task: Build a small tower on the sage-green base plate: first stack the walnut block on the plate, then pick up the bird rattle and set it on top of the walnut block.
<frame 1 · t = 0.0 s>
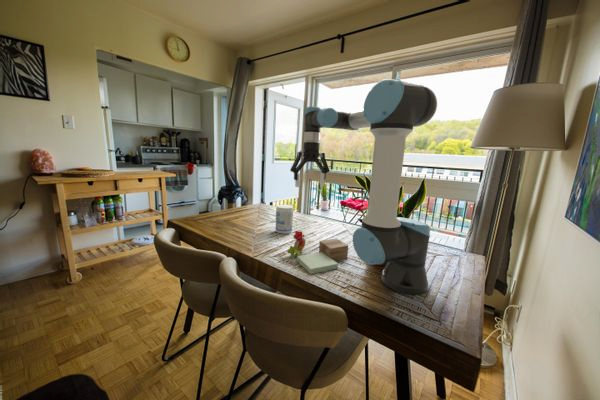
hand: (309, 186, 119), 28 cm above the table, tool pointing down, fingers open, 13 cm apart
supplement tub: (284, 231, 137), on the table
bird rattle: (297, 254, 107), on the table
walnut block: (332, 256, 107), on the table
base plate: (316, 264, 98), on the table
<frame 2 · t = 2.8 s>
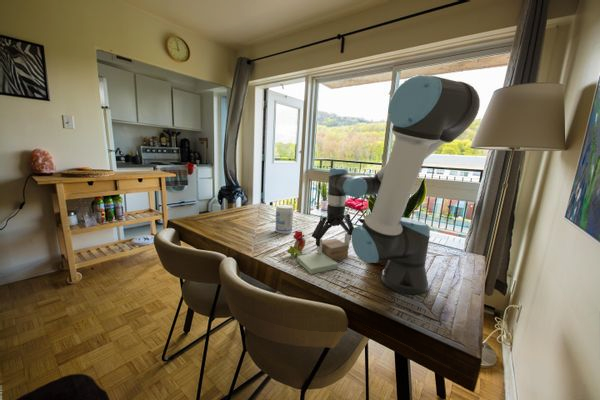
hand: (333, 251, 108), 2 cm above the table, tool pointing down, fingers open, 14 cm apart
nothing on the table moved.
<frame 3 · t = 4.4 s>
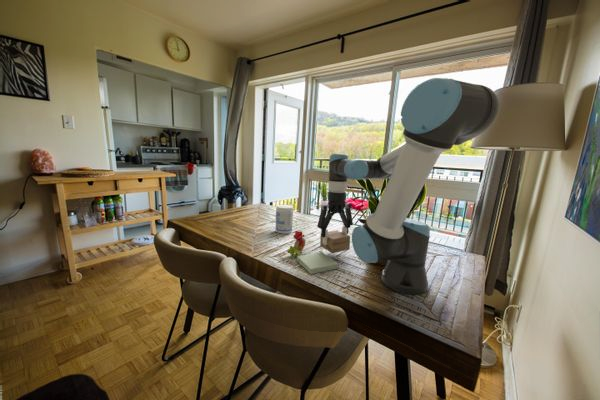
hand: (334, 242, 105), 6 cm above the table, tool pointing down, fingers closed on walnut block, 9 cm apart
walnut block: (334, 247, 106), point 4 cm above the table, touching gripper
everything else where it was.
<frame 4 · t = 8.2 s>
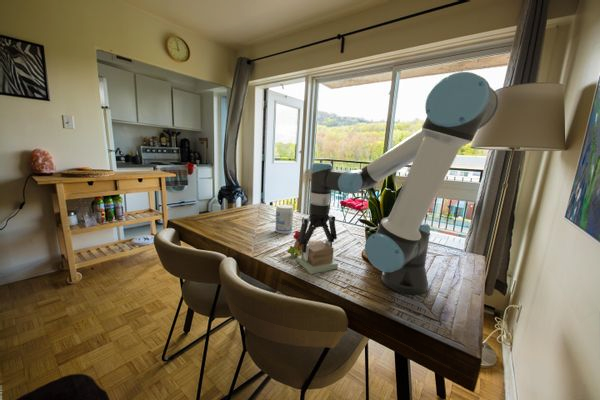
hand: (316, 257, 98), 3 cm above the table, tool pointing down, fingers closed on walnut block, 9 cm apart
walnut block: (316, 259, 98), point 2 cm above the table, touching base plate, gripper
everything else where it was.
when the fingers open (3 cm above the table, at t = 8.6 s): walnut block stays where it is, resting on base plate.
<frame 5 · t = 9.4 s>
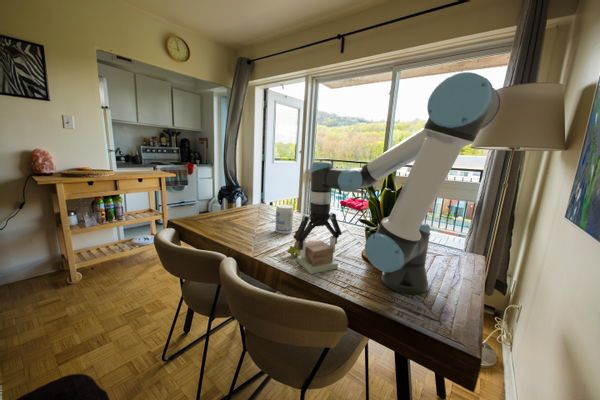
hand: (317, 254, 97), 4 cm above the table, tool pointing down, fingers open, 13 cm apart
walnut block: (316, 259, 98), point 2 cm above the table, touching base plate
everything else where it was.
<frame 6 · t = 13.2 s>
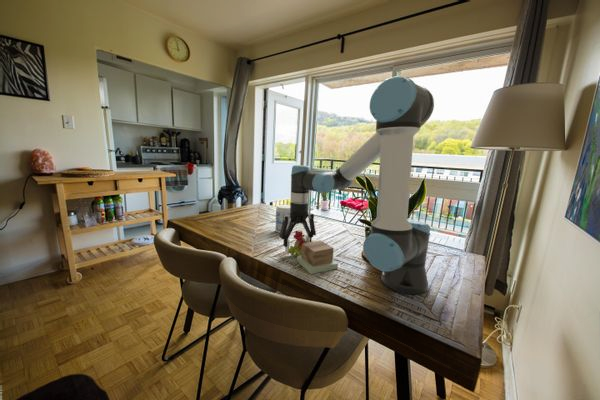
hand: (297, 251, 107), 1 cm above the table, tool pointing down, fingers closed on bird rattle, 9 cm apart
bird rattle: (297, 254, 107), on the table, touching gripper
everything else where it was.
when the fingers open (10 cm above the table, at t = 18.7 s): bird rattle stays where it is, resting on walnut block.
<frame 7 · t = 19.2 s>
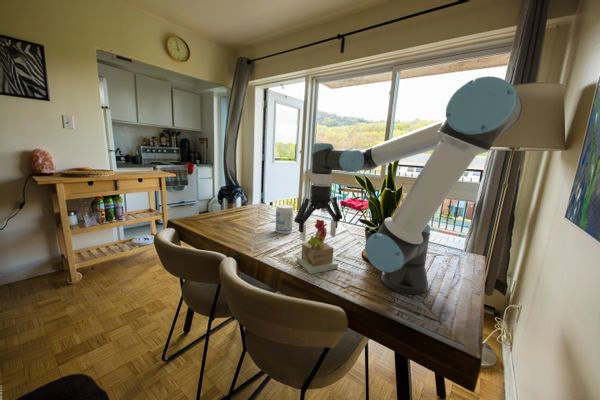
hand: (318, 238, 96), 11 cm above the table, tool pointing down, fingers open, 13 cm apart
bird rattle: (318, 246, 97), point 8 cm above the table, touching walnut block
walnut block: (316, 259, 98), point 2 cm above the table, touching base plate, bird rattle
everything else where it was.
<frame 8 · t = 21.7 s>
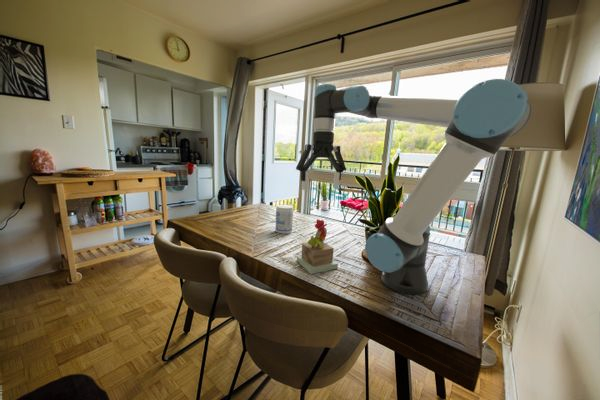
hand: (320, 189, 92), 31 cm above the table, tool pointing down, fingers open, 13 cm apart
nothing on the table moved.
at the end: walnut block inside the target area on the base plate (0.1 cm from its centre), point 2.0 cm above the base plate's base; bird rattle 0.4 cm from the walnut block (horizontally); bird rattle point 7.8 cm above the table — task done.
